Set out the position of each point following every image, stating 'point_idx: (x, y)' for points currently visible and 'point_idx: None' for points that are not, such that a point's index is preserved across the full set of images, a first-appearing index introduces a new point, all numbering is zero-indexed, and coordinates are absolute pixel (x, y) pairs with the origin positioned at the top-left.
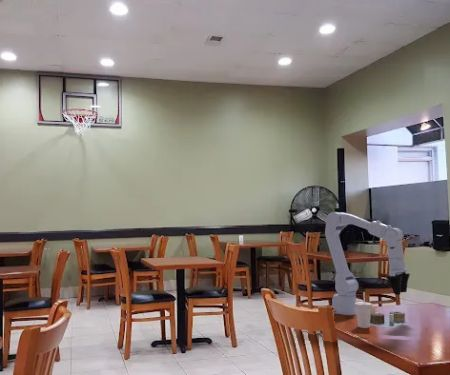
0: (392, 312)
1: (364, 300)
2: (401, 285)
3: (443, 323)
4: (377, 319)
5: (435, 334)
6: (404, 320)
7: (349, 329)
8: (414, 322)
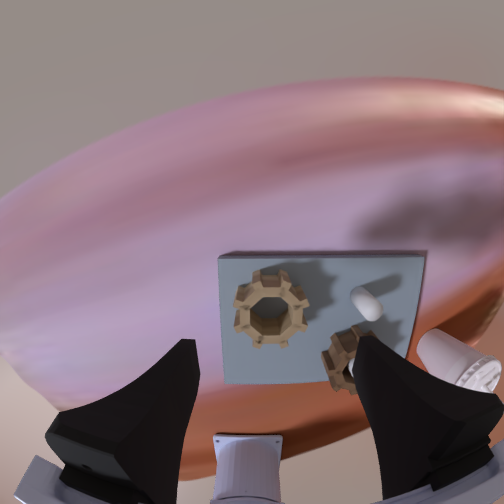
0: (279, 336)
1: (491, 391)
2: (183, 407)
3: (137, 131)
4: None
5: (377, 108)
6: (259, 271)
7: None
8: (192, 241)
